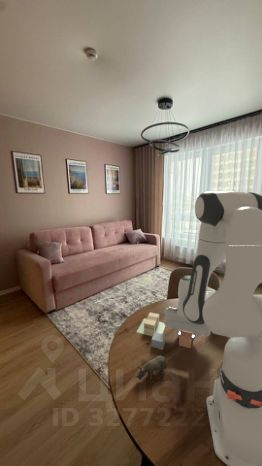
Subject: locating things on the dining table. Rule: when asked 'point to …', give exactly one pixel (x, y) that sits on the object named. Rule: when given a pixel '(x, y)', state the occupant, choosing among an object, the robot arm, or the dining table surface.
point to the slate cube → (158, 340)
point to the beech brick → (151, 323)
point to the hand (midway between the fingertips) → (186, 338)
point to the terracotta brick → (185, 338)
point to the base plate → (158, 330)
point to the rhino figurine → (152, 367)
